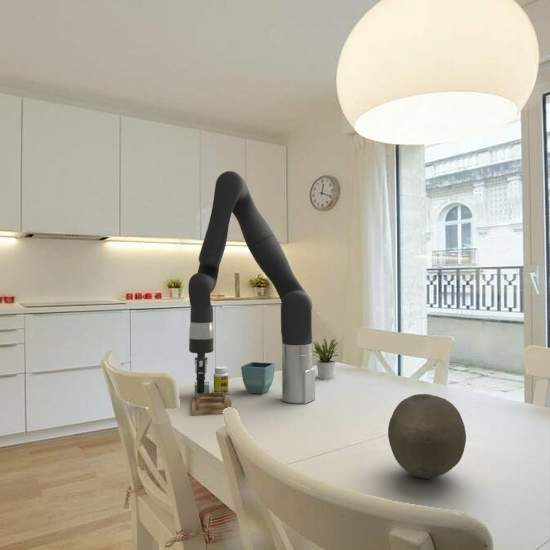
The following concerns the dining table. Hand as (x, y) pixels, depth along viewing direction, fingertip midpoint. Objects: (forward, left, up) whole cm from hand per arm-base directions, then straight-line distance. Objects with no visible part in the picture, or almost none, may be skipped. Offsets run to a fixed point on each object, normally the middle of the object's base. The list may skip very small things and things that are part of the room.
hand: (200, 390), depth 142 cm
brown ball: (-75, +21, -3) cm, 78 cm away
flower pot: (-11, -16, -3) cm, 19 cm away
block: (0, -1, -3) cm, 3 cm away
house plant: (-21, -48, -3) cm, 52 cm away
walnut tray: (-10, +6, -2) cm, 12 cm away
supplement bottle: (-2, -8, -3) cm, 9 cm away
